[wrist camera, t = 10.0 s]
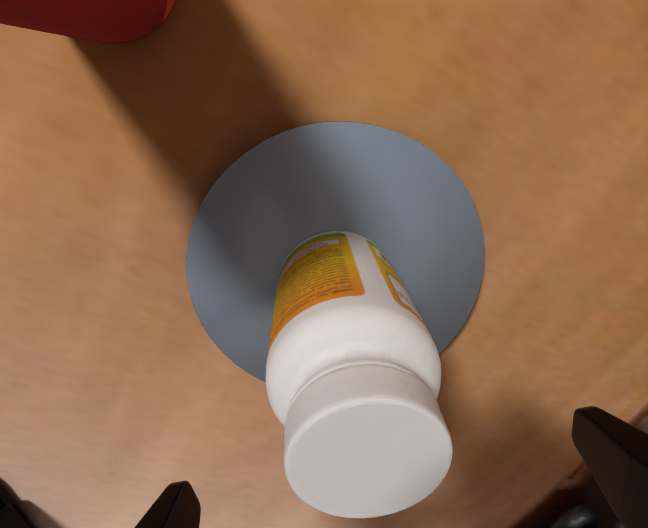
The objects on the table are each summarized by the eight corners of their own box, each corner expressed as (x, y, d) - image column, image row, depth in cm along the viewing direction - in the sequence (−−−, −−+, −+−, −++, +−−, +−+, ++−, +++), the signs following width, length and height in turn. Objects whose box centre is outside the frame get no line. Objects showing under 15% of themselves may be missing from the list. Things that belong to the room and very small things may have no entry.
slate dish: (239, 403, 21) (236, 416, 20) (147, 158, 16) (137, 161, 15) (479, 357, 21) (487, 368, 20) (470, 89, 15) (481, 88, 14)
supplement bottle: (265, 316, 18) (228, 522, 9) (296, 213, 16) (288, 346, 7) (368, 341, 19) (427, 551, 10) (409, 246, 17) (528, 403, 8)
